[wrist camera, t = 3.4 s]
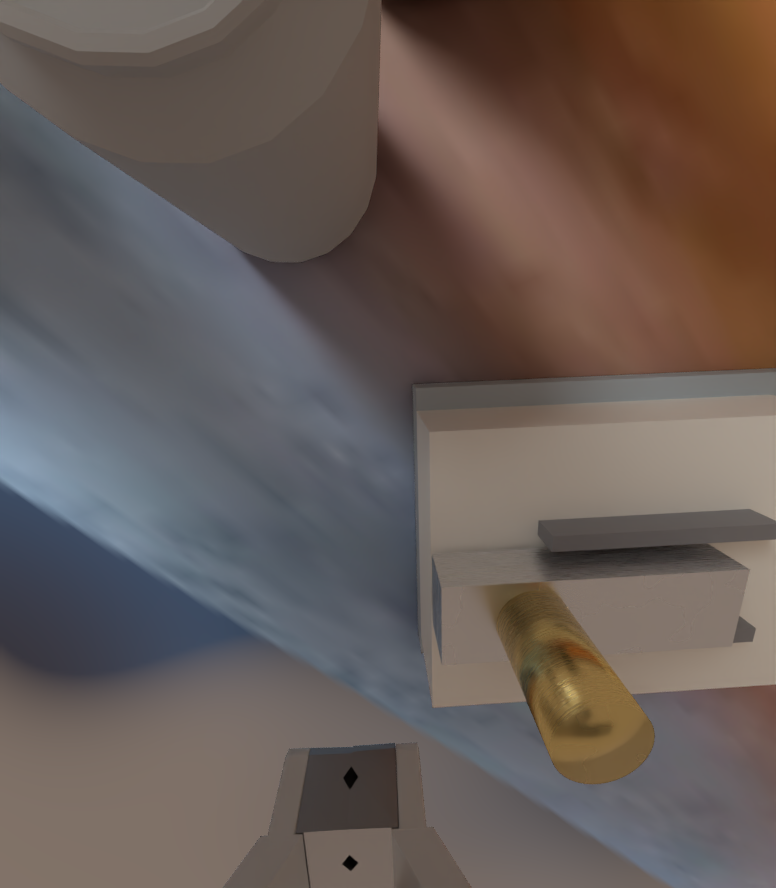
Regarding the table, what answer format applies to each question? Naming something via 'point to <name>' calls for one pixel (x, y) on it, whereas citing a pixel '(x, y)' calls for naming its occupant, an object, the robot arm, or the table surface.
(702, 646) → the bolt
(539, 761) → the table surface
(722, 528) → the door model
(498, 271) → the table surface
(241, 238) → the can
